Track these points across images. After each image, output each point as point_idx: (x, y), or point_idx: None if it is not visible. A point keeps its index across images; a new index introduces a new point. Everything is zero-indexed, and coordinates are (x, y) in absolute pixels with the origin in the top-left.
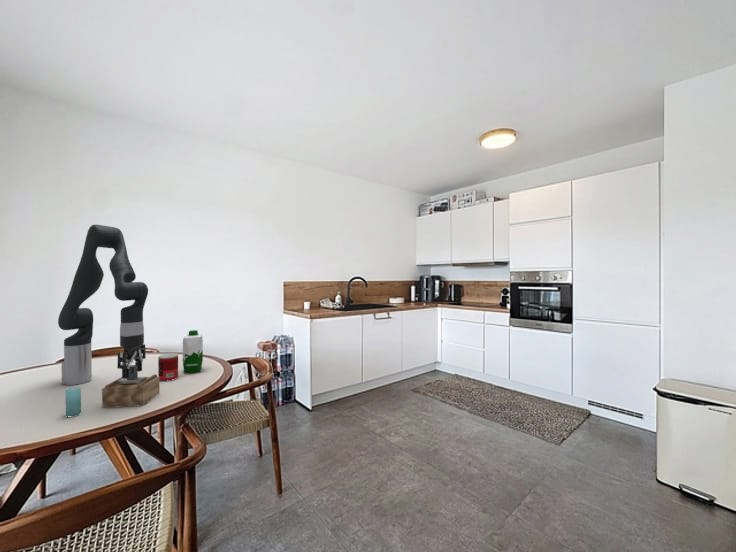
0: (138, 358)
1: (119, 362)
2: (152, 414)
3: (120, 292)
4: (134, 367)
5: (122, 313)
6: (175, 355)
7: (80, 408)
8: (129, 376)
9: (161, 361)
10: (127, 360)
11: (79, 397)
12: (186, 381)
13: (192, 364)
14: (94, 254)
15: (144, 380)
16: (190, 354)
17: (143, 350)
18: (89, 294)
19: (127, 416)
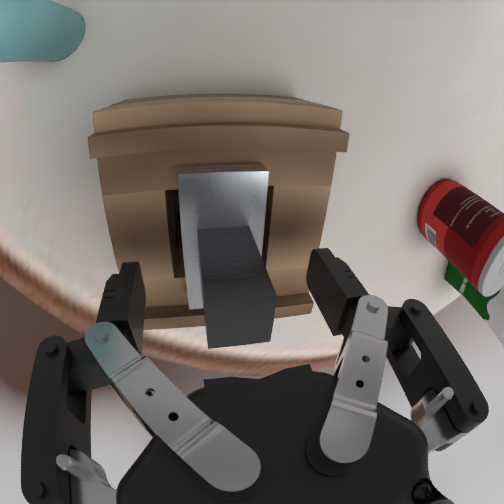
0: (336, 364)
1: (42, 400)
2: (84, 325)
3: None
4: (218, 340)
5: None
6: (491, 291)
7: (51, 58)
8: (144, 302)
9: (482, 245)
10: (139, 417)
11: (14, 60)
12: (383, 282)
13: (465, 284)
14: None
15: (201, 315)
16: (489, 306)
17: (413, 405)
18: None
19: (55, 268)
